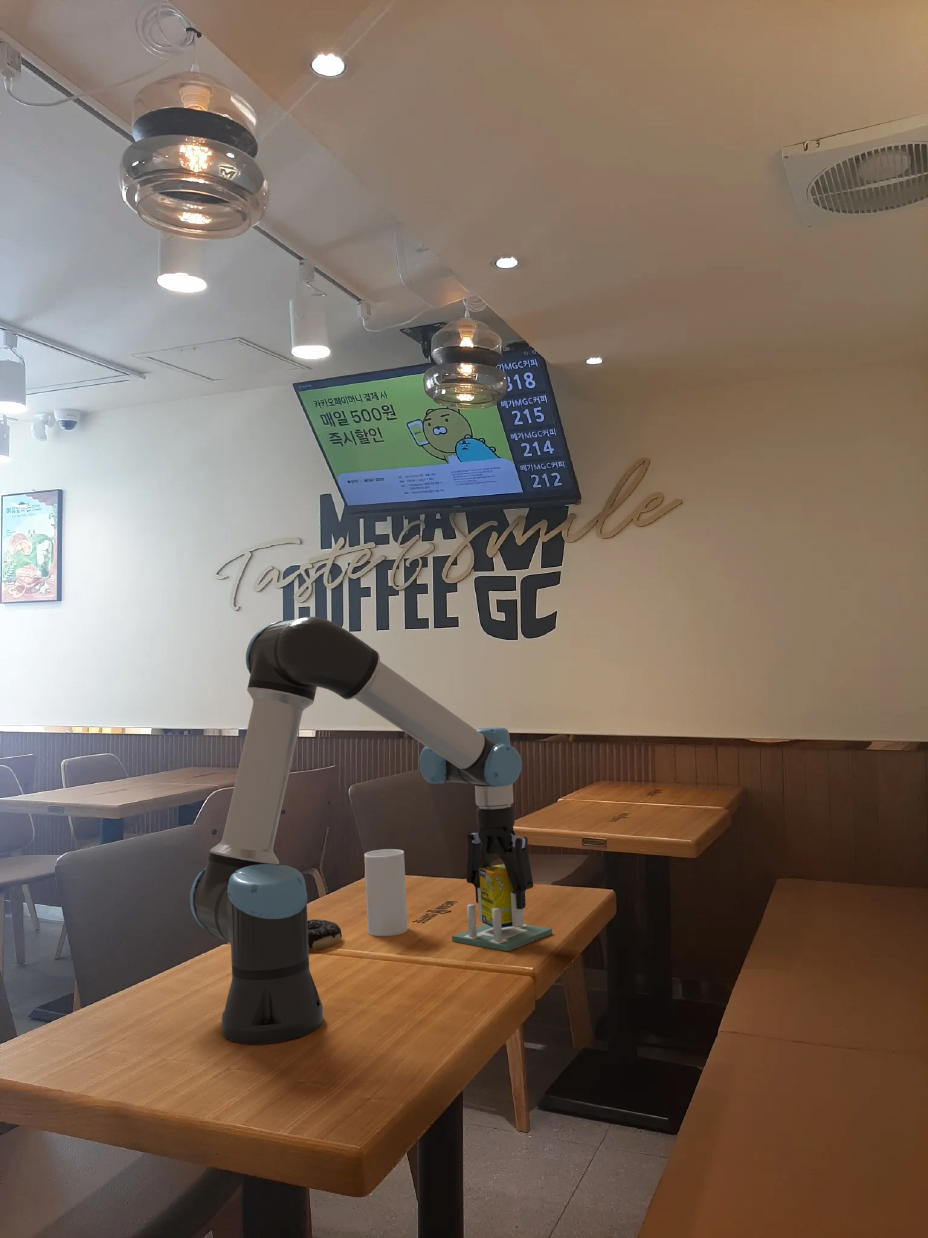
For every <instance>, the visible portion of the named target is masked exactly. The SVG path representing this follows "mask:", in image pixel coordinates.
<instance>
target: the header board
mask: <svg viewBox="0 0 928 1238" xmlns="http://www.w3.org/2000/svg"><path fill="white" fill-rule="evenodd" d="M466 912H467V913H466V914H467V915H466V916H467V929H466V930H465V931H462V932H459V933H456V934H454V935H451V939H452V940H451V941H452V942H456V943H460V944H466V945H471V946H477V947H481V948H487V949H491V950H496V951H497V950H498V951H503V952H507V951H509V952H510V951H513V950H515V948H516V949H518V948H520V947H523V946H525V945H526V946H527V945H528V944H531V943H533V942H536V941H538V940H540V939H542V938H545V937H548V936H550V935H552V934H553V928H552V927H551V928H549V927H544V926H537V925H532V924H525V923H524V924H523V925H520V926H518V927H513V926H510V927H505V928H502V926H501V909H500V908H493V909H492V915H493V927H491V926H489V925H487V924H484V923H483V924H481V925H479V926H477V917H476V915H477V913H476V904H472V903H471V904H467V905H466ZM535 940H536V941H535ZM530 942H531V943H530Z"/></svg>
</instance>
